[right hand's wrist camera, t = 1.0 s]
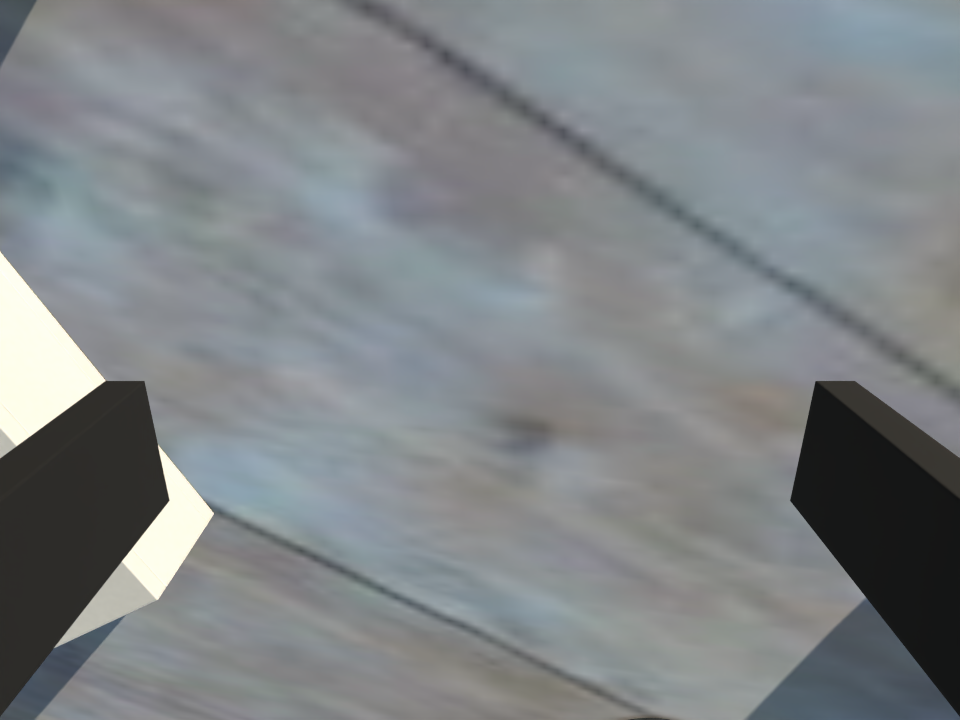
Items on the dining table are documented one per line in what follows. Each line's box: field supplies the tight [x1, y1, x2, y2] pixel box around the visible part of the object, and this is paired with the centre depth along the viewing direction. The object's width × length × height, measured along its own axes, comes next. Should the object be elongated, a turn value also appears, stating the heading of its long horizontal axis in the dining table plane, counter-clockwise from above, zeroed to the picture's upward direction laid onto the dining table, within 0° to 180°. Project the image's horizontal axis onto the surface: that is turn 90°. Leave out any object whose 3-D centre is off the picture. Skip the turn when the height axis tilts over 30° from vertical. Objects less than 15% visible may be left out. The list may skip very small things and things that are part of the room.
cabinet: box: [0, 252, 214, 648], centre depth 38 cm, size 21×10×8 cm, turn 28°
